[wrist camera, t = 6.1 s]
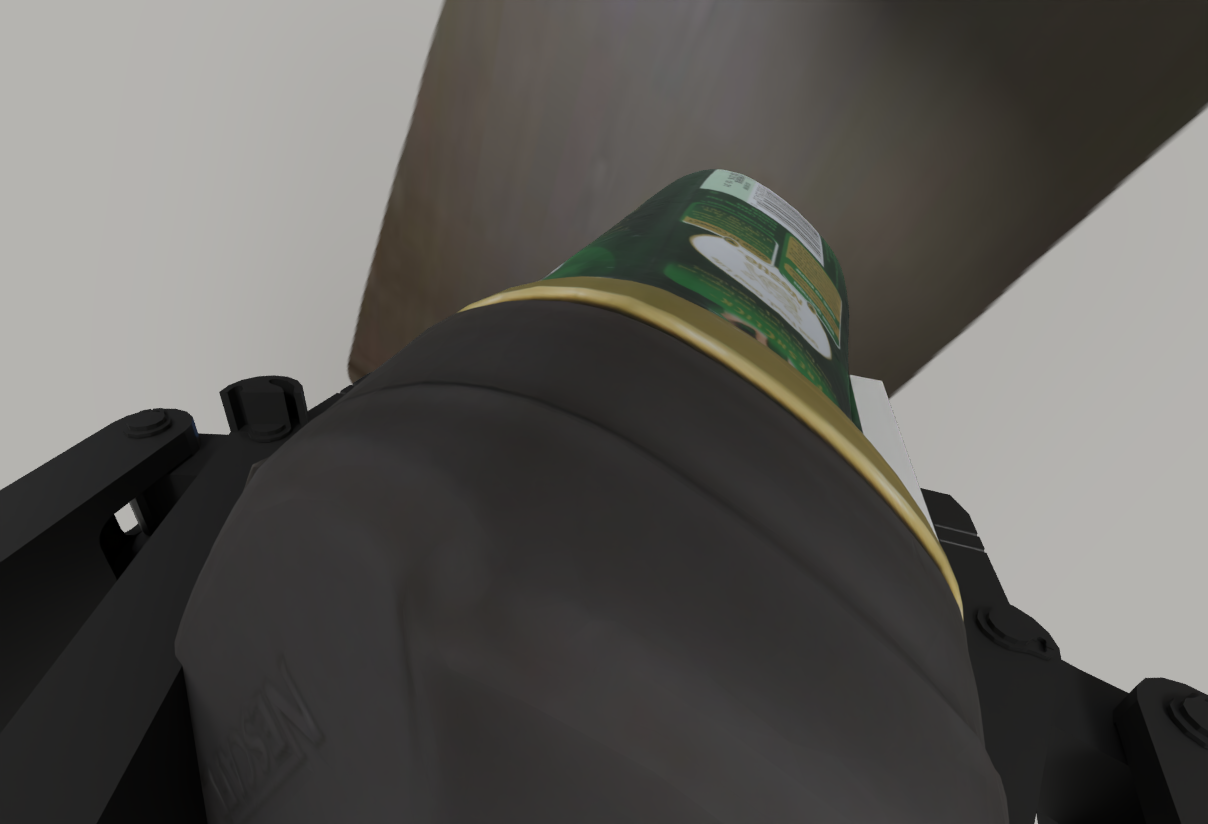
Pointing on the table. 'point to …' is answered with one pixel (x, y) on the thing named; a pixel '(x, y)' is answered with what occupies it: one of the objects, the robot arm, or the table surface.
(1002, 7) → the table surface
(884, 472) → the coffee jar
